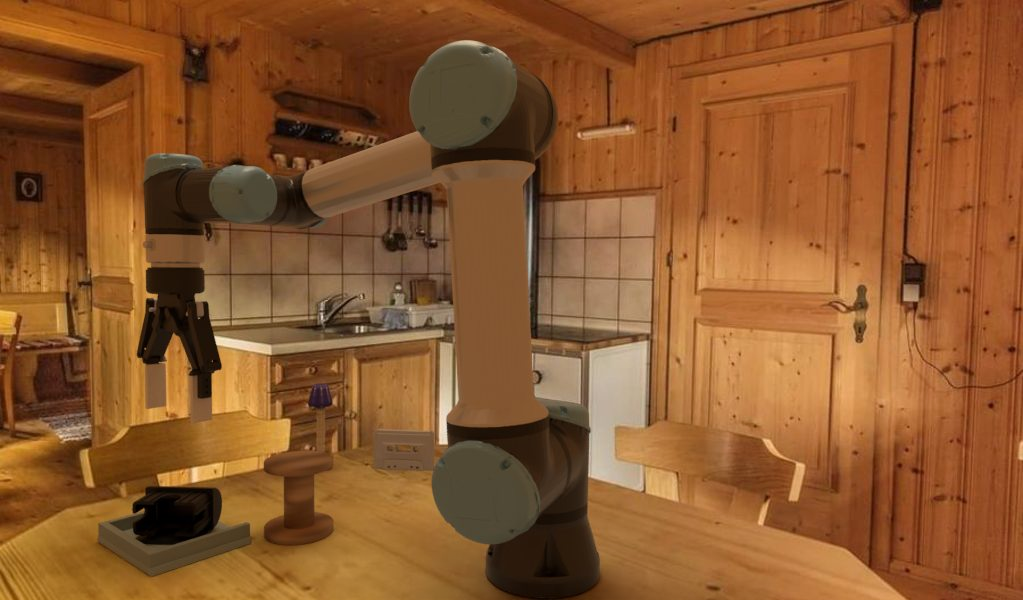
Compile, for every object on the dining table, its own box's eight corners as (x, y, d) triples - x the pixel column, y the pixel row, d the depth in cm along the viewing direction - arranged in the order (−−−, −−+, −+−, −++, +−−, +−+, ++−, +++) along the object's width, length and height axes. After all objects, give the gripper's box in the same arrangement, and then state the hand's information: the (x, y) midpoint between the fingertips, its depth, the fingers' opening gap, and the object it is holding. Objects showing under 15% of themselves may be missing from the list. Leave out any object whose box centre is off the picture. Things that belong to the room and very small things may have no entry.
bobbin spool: (347, 530, 105) (347, 459, 105) (289, 551, 98) (288, 474, 97) (307, 514, 112) (307, 447, 111) (250, 532, 104) (250, 460, 103)
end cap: (223, 526, 104) (222, 481, 103) (200, 545, 96) (199, 498, 96) (157, 524, 104) (156, 480, 104) (129, 543, 97) (128, 496, 96)
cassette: (372, 469, 136) (372, 430, 136) (375, 466, 138) (375, 428, 138) (433, 471, 136) (433, 432, 135) (434, 468, 137) (435, 430, 137)
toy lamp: (335, 470, 135) (335, 385, 134) (311, 473, 133) (311, 387, 132) (328, 463, 139) (328, 381, 138) (305, 467, 137) (304, 383, 136)
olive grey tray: (251, 543, 100) (251, 524, 100) (151, 576, 89) (150, 555, 89) (193, 514, 111) (193, 497, 111) (97, 541, 100) (97, 522, 100)
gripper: (110, 264, 103) (113, 405, 104) (192, 267, 87) (195, 433, 89) (161, 264, 109) (163, 398, 110) (247, 267, 93) (249, 422, 94)
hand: (177, 414), depth 99 cm, fingers open, 13 cm apart
